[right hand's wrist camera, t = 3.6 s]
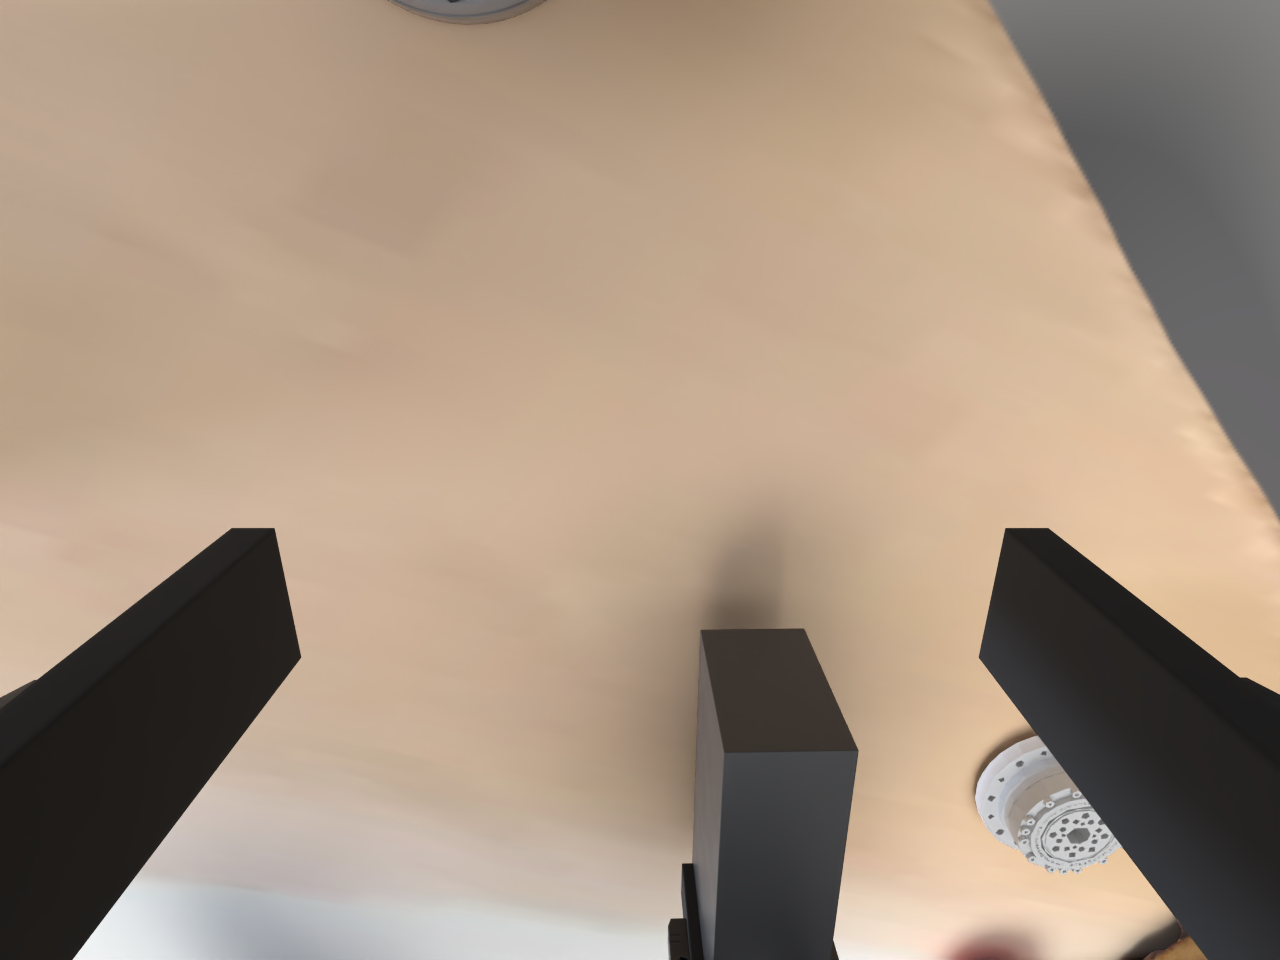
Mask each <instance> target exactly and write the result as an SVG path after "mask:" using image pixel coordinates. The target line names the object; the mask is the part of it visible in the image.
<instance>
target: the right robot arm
mask: <svg viewBox="0 0 1280 960" xmlns="http://www.w3.org/2000/svg"><path fill="white" fill-rule="evenodd" d="M389 1H390V2H392V3H394V4H396V5H398V6H400V7H401V8H403V9H405V10H407V11H410V12H412V13H415V14H417V15H420V16H422V17H426V18H429V19H433V20H436V21H441V22H447V23H453V24H469V25H470V24H485V23H491V22H497V21H501V20H505V19H508V18H511V17H515V16H517V15H519V14H522V13H524V12H526V11H529V10H531V9H532V8H534V7H536V6H538V5H539V4H541V3H543V2H544V1H546V0H389ZM300 658H301V654H300V649H299V644H298V639H297V635H296V630H295V625H294V620H293V615H292V610H291V606H290V601H289V596H288V591H287V586H286V581H285V577H284V572H283V567H282V562H281V557H280V552H279V548H278V543H277V538H276V533H275V528H231V529H230V530H229V531H228V532H226V533H225V534H224V535H222V536H221V537H220V538H219V539H217V540H216V541H215V542H213V543H212V544H211V545H210V546H208V547H207V548H206V549H204V550H203V551H202V552H201V553H199V554H198V555H197V556H196V557H194V558H193V559H192V560H190V561H189V562H188V563H187V564H185V565H184V566H183V567H181V568H180V569H179V570H178V571H176V572H175V573H174V574H172V575H171V576H170V577H169V578H167V579H166V580H165V581H163V582H162V583H161V584H160V585H158V586H157V587H156V588H154V589H153V590H152V591H151V592H149V593H148V594H147V595H145V596H144V597H143V598H142V599H140V600H139V601H138V602H137V603H135V604H134V605H133V606H131V607H130V608H129V609H128V610H126V611H125V612H124V613H122V614H121V615H120V616H119V617H117V618H116V619H115V620H113V621H112V622H111V623H110V624H108V625H107V626H106V627H104V628H103V629H102V630H101V631H99V632H98V633H97V634H95V635H94V636H93V637H92V638H90V639H89V640H88V641H86V642H85V643H84V644H83V645H81V646H80V647H79V648H78V649H76V650H75V651H74V652H72V653H71V654H70V655H69V656H67V657H66V658H65V659H63V660H62V661H61V662H60V663H58V664H57V665H56V666H54V667H53V668H52V669H51V670H49V671H48V672H47V673H45V674H44V675H43V676H42V677H40V678H39V679H38V680H34V681H32V682H30V683H28V684H26V685H24V686H22V687H20V688H18V689H16V690H14V691H12V692H10V693H8V694H7V695H5V696H3V697H1V698H0V960H73V958H74V957H75V956H76V954H77V953H78V952H79V950H80V949H81V948H82V946H83V945H84V944H85V942H86V941H87V940H88V938H89V937H90V936H91V934H92V933H93V932H94V931H95V929H96V928H97V927H98V925H99V924H100V923H101V921H102V920H103V919H104V917H105V916H106V915H107V913H108V912H109V911H110V909H111V908H112V907H113V905H114V904H115V903H116V901H117V900H118V899H119V897H120V896H121V895H122V894H123V892H124V891H125V890H126V888H127V887H128V886H129V884H130V883H131V882H132V880H133V879H134V878H135V876H136V875H137V874H138V872H139V871H140V870H141V868H142V867H143V866H144V864H145V863H146V862H147V861H148V859H149V858H150V857H151V855H152V854H153V853H154V851H155V850H156V849H157V847H158V846H159V845H160V843H161V842H162V841H163V839H164V838H165V837H166V835H167V834H168V833H169V831H170V830H171V829H172V827H173V826H174V825H175V824H176V822H177V821H178V820H179V818H180V817H181V816H182V814H183V813H184V812H185V810H186V809H187V808H188V806H189V805H190V804H191V802H192V801H193V800H194V798H195V797H196V796H197V794H198V793H199V792H200V791H201V789H202V788H203V787H204V785H205V784H206V783H207V781H208V780H209V779H210V777H211V776H212V775H213V773H214V772H215V771H216V769H217V768H218V767H219V765H220V764H221V763H222V761H223V760H224V759H225V757H226V756H227V755H228V754H229V752H230V751H231V750H232V748H233V747H234V746H235V744H236V743H237V742H238V740H239V739H240V738H241V736H242V735H243V734H244V732H245V731H246V730H247V728H248V727H249V726H250V724H251V723H252V722H253V721H254V719H255V718H256V717H257V715H258V714H259V713H260V711H261V710H262V709H263V707H264V706H265V705H266V703H267V702H268V701H269V699H270V698H271V697H272V695H273V694H274V693H275V691H276V690H277V689H278V687H279V686H280V685H281V684H282V682H283V681H284V680H285V678H286V677H287V676H288V674H289V673H290V672H291V670H292V669H293V668H294V666H295V665H296V664H297V662H298V661H299V660H300ZM979 658H980V660H981V661H982V662H983V664H984V665H985V666H986V668H987V669H988V670H989V672H990V673H991V674H992V676H993V677H994V678H995V680H996V681H997V682H998V684H999V685H1000V686H1001V687H1002V689H1003V690H1004V691H1005V693H1006V694H1007V695H1008V697H1009V698H1010V699H1011V701H1012V702H1013V703H1014V705H1015V706H1016V707H1017V709H1018V710H1019V711H1020V713H1021V714H1022V715H1023V717H1024V718H1025V719H1026V721H1027V722H1028V723H1029V724H1030V726H1031V727H1032V728H1033V730H1034V731H1035V732H1036V734H1037V735H1038V736H1039V738H1040V739H1041V740H1042V742H1043V743H1044V744H1045V746H1046V747H1047V748H1048V750H1049V751H1050V752H1051V754H1052V755H1053V756H1054V757H1055V759H1056V760H1057V761H1058V763H1059V764H1060V765H1061V767H1062V768H1063V769H1064V771H1065V772H1066V773H1067V775H1068V776H1069V777H1070V779H1071V780H1072V781H1073V783H1074V784H1075V785H1076V787H1077V788H1078V789H1079V791H1080V792H1081V793H1082V794H1083V796H1084V797H1085V798H1086V800H1087V801H1088V802H1089V804H1090V805H1091V806H1092V808H1093V809H1094V810H1095V812H1096V813H1097V814H1098V816H1099V817H1100V818H1101V820H1102V821H1103V822H1104V824H1105V825H1106V826H1107V827H1108V829H1109V830H1110V831H1111V833H1112V834H1113V835H1114V837H1115V838H1116V839H1117V841H1118V842H1119V843H1120V845H1121V846H1122V847H1123V849H1124V850H1125V851H1126V853H1127V854H1128V855H1129V857H1130V858H1131V859H1132V861H1133V862H1134V863H1135V864H1136V866H1137V867H1138V868H1139V870H1140V871H1141V872H1142V874H1143V875H1144V876H1145V878H1146V879H1147V880H1148V882H1149V883H1150V884H1151V886H1152V887H1153V888H1154V890H1155V891H1156V892H1157V894H1158V895H1159V896H1160V898H1161V899H1162V900H1163V901H1164V903H1165V904H1166V905H1167V907H1168V908H1169V909H1170V911H1171V912H1172V913H1173V915H1174V916H1175V917H1176V919H1177V920H1178V921H1179V923H1180V924H1181V925H1182V927H1183V928H1184V929H1185V931H1186V932H1187V933H1188V934H1189V936H1190V937H1191V938H1192V940H1193V941H1194V942H1195V944H1196V945H1197V946H1198V948H1199V949H1200V950H1201V952H1202V953H1203V954H1204V956H1205V957H1206V958H1207V960H1280V695H1279V694H1277V693H1275V692H1274V691H1272V690H1270V689H1268V688H1266V687H1264V686H1262V685H1260V684H1258V683H1256V682H1254V681H1252V680H1250V679H1248V678H1240V677H1238V676H1237V675H1236V674H1235V673H1233V672H1232V671H1231V670H1229V669H1228V668H1227V667H1226V666H1224V665H1223V664H1222V663H1220V662H1219V661H1218V660H1217V659H1215V658H1214V657H1213V656H1211V655H1210V654H1209V653H1208V652H1206V651H1205V650H1204V649H1202V648H1201V647H1200V646H1199V645H1197V644H1196V643H1195V642H1194V641H1192V640H1191V639H1190V638H1188V637H1187V636H1186V635H1185V634H1183V633H1182V632H1181V631H1179V630H1178V629H1177V628H1176V627H1174V626H1173V625H1172V624H1170V623H1169V622H1168V621H1167V620H1165V619H1164V618H1163V617H1161V616H1160V615H1159V614H1158V613H1156V612H1155V611H1154V610H1152V609H1151V608H1150V607H1149V606H1147V605H1146V604H1145V603H1143V602H1142V601H1141V600H1140V599H1138V598H1137V597H1136V596H1135V595H1133V594H1132V593H1131V592H1129V591H1128V590H1127V589H1126V588H1124V587H1123V586H1122V585H1120V584H1119V583H1118V582H1117V581H1115V580H1114V579H1113V578H1111V577H1110V576H1109V575H1108V574H1106V573H1105V572H1104V571H1102V570H1101V569H1100V568H1099V567H1097V566H1096V565H1095V564H1093V563H1092V562H1091V561H1090V560H1088V559H1087V558H1086V557H1084V556H1083V555H1082V554H1081V553H1079V552H1078V551H1077V550H1075V549H1074V548H1073V547H1072V546H1070V545H1069V544H1068V543H1067V542H1065V541H1064V540H1063V539H1061V538H1060V537H1059V536H1058V535H1056V534H1055V533H1054V532H1052V531H1051V530H1050V529H1049V528H1005V533H1004V538H1003V543H1002V548H1001V552H1000V557H999V562H998V567H997V572H996V577H995V581H994V586H993V591H992V596H991V601H990V606H989V610H988V615H987V620H986V625H985V630H984V635H983V639H982V644H981V649H980V654H979Z"/></svg>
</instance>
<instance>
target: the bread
mask: <svg viewBox="0 0 1280 960" xmlns="http://www.w3.org/2000/svg"><path fill="white" fill-rule="evenodd" d="M1177 921H1178V920H1177ZM1178 923H1179V921H1178ZM1179 926H1180V929H1181V935H1180V936H1179V940H1178V942H1175V943H1173V944H1172V945H1171V946H1169V947H1168V948H1167V949H1166V950H1155V951H1153V952H1151V953H1150V954H1149V955H1148V956H1147V957H1146V958H1144V959H1143V960H1207V958H1206V957H1205V956H1204V954H1203V953H1202V952H1201V950H1200V949H1199V948H1198V946H1197V945H1196V944H1195V942H1194V941H1193V940H1192V938H1191V937H1190V936H1189V934H1188V933H1187V932H1186V931H1185V929H1184V928H1183V927H1182V925H1181V924H1180V923H1179Z"/></svg>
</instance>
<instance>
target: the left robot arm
mask: <svg viewBox="0 0 1280 960" xmlns="http://www.w3.org/2000/svg"><path fill="white" fill-rule="evenodd" d="M681 896H682V907H683V918H680V919H671V920H670V923H669V926H668V951H669V960H704V956H703V947H702V938H701V929H700V920H699V911H698V902H697V893H696V884H695V875H694V866H693V863H689V864H682V886H681ZM830 960H839V958H838V955H837V952H836V948H835V945H834V941H833V943H832V951H831V958H830Z"/></svg>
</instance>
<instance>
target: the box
mask: <svg viewBox="0 0 1280 960" xmlns="http://www.w3.org/2000/svg"><path fill="white" fill-rule="evenodd" d="M857 758H858V748H857V746H856V744H855V742H854V740H853V737H852V735H851V733H850V731H849V728H848V726H847V724H846V722H845V719H844V717H843V715H842V713H841V710H840V708H839V706H838V704H837V701H836V699H835V697H834V695H833V692H832V690H831V688H830V686H829V684H828V681H827V679H826V677H825V675H824V672H823V670H822V668H821V666H820V663H819V661H818V659H817V657H816V654H815V652H814V650H813V648H812V645H811V643H810V641H809V639H808V636H807V634H806V632H805V630H804V629H736V630H701V631H700V657H699V686H698V715H697V744H696V773H695V802H694V831H693V860H692V863H693V866H694V875H695V884H696V893H697V902H698V911H699V920H700V929H701V938H702V947H703V956H704V960H830V958H831V951H832V943H833V936H834V928H835V921H836V914H837V906H838V899H839V891H840V884H841V876H842V869H843V862H844V854H845V847H846V839H847V832H848V824H849V817H850V810H851V802H852V795H853V787H854V780H855V773H856V765H857Z"/></svg>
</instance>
